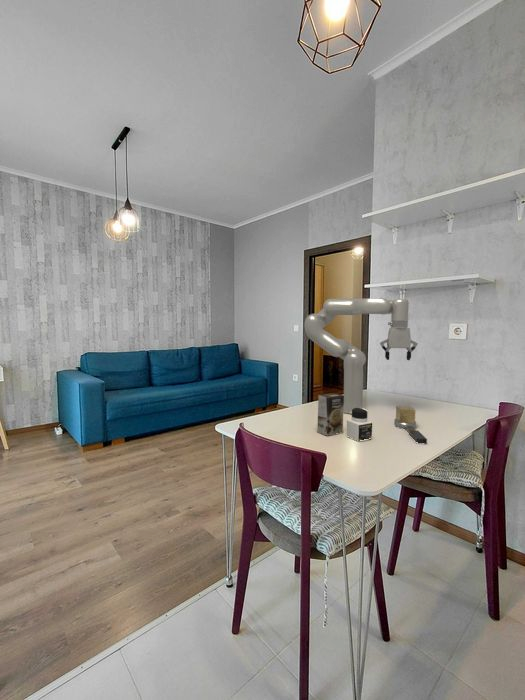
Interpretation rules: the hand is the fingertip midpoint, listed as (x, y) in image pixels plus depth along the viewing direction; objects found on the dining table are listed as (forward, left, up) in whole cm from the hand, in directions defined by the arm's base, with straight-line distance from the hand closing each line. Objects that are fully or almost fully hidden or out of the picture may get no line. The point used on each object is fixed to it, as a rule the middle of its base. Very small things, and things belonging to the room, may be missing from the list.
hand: (397, 359), depth 163 cm
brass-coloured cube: (0, -16, -26) cm, 30 cm away
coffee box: (-34, -30, -28) cm, 54 cm away
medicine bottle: (-23, -35, -28) cm, 51 cm away
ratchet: (0, -25, -28) cm, 38 cm away
